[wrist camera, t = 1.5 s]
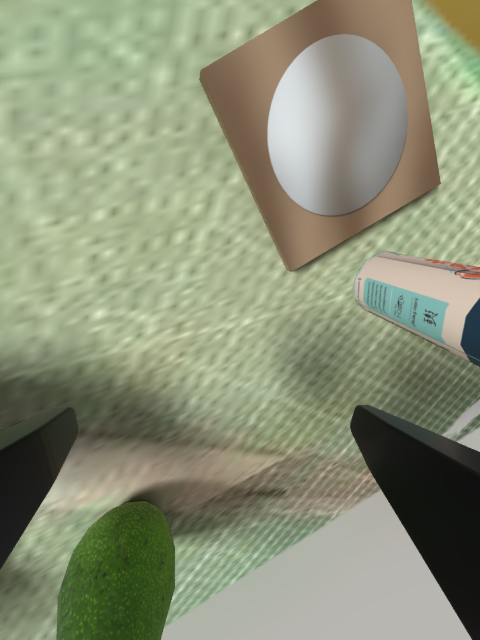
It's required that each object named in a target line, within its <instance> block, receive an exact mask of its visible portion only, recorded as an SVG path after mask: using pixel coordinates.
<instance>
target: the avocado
mask: <svg viewBox="0 0 480 640" xmlns="http://www.w3.org/2000/svg"><path fill="white" fill-rule="evenodd" d="M174 589H175V546H174V542H173V538H172V534H171V530H170V527H169V524H168V521H167V519H166V518H165V516H164V514H163V513H162V512H161V511H160V509H159V508H158V507H157V506H155V505H153V504H150V503H148V502H146V501H137V502H128V503H124V504H122V505H120V506H118V507H116V508H114V509H112V510H110V511H108V512H107V513H106V514H104V515H103V516H102V517H101V518H100V519H99V520H97V521H96V522H95V523H94V524H93V525H92V526H91V527H90V528H89V529H88V530H87V532H86V533H85V535H84V536H83V538H82V539H81V541H80V542H79V544H78V545H77V547H76V548H75V550H74V551H73V554H72V556H71V559H70V561H69V564H68V567H67V571H66V574H65V576H64V579H63V582H62V585H61V589H60V592H59V596H58V610H57V639H56V640H161V636H162V632H163V628H164V625H165V621H166V617H167V614H168V610H169V607H170V603H171V600H172V596H173V592H174Z"/></svg>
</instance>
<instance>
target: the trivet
mask: <svg viewBox="0 0 480 640" xmlns="http://www.w3.org/2000/svg"><path fill="white" fill-rule="evenodd" d="M200 82H201V84H202V86H203V88H204V91H205V93H206V95H207V97H208V99H209V102H210V104H211V106H212V108H213V110H214V112H215V115H216V117H217V119H218V121H219V123H220V126H221V128H222V130H223V132H224V134H225V136H226V139H227V141H228V143H229V145H230V147H231V150H232V152H233V154H234V156H235V158H236V160H237V163H238V165H239V167H240V169H241V171H242V174H243V176H244V178H245V180H246V182H247V184H248V187H249V189H250V191H251V193H252V195H253V198H254V200H255V202H256V204H257V206H258V209H259V211H260V213H261V215H262V217H263V219H264V222H265V224H266V226H267V228H268V230H269V233H270V235H271V237H272V239H273V241H274V243H275V246H276V248H277V250H278V252H279V254H280V257H281V259H282V261H283V263H284V265H285V267H286V269H287V270H289V271H291V272H292V271H294V270H295V269H297V268H299V267H301V266H302V265H304V264H306V263H307V262H309V261H311V260H312V259H314V258H316V257H317V256H319V255H321V254H323V253H324V252H326V251H328V250H329V249H331V248H333V247H334V246H336V245H338V244H339V243H341V242H343V241H345V240H346V239H348V238H350V237H351V236H353V235H355V234H356V233H358V232H360V231H361V230H363V229H365V228H367V227H368V226H370V225H372V224H373V223H375V222H377V221H378V220H380V219H382V218H384V217H385V216H387V215H389V214H390V213H392V212H394V211H395V210H397V209H399V208H400V207H402V206H404V205H406V204H407V203H409V202H411V201H412V200H414V199H416V198H417V197H419V196H421V195H422V194H424V193H426V192H428V191H429V190H431V189H433V188H434V187H436V186H438V185H439V184H441V182H440V176H439V170H438V163H437V157H436V151H435V144H434V138H433V132H432V126H431V119H430V113H429V107H428V100H427V94H426V88H425V82H424V75H423V69H422V63H421V56H420V50H419V44H418V38H417V31H416V25H415V19H414V12H413V6H412V0H317V1H315V2H314V3H312V4H310V5H309V6H307V7H305V8H304V9H302V10H300V11H299V12H297V13H295V14H294V15H292V16H290V17H289V18H287V19H285V20H284V21H282V22H280V23H279V24H277V25H275V26H274V27H272V28H270V29H269V30H267V31H265V32H264V33H262V34H260V35H259V36H257V37H255V38H254V39H252V40H250V41H249V42H247V43H245V44H244V45H242V46H240V47H239V48H237V49H235V50H234V51H232V52H230V53H229V54H227V55H225V56H224V57H222V58H220V59H219V60H217V61H215V62H214V63H212V64H210V65H209V66H207V67H205V68H204V69H202V70H201V72H200Z"/></svg>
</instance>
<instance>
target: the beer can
mask: <svg viewBox="0 0 480 640" xmlns="http://www.w3.org/2000/svg"><path fill="white" fill-rule="evenodd" d="M354 295H355V299H356V301H357V303H358V304H359V305H360V306H361V307H362V308H363V309H364V310H366V311H368V312H371V313H373V314H375V315H377V316H379V317H381V318H383V319H385V320H387V321H389V322H391V323H393V324H395V325H397V326H399V327H401V328H403V329H405V330H407V331H409V332H411V333H413V334H415V335H417V336H419V337H421V338H423V339H425V340H427V341H429V342H431V343H433V344H435V345H437V346H439V347H441V348H443V349H445V350H447V351H449V352H451V353H453V354H455V355H457V356H459V357H461V358H463V359H465V360H467V361H470V362H472V363H474V364H476V365H478V366H480V267H475V266H469V265H463V264H456V263H450V262H444V261H438V260H431V259H425V258H419V257H413V256H406V255H400V254H397V253H394V252H382V253H379V254H376V255H374V256H373V257H371V258H370V259H369V260H367V261H366V262H365V263H364V265H363V266H362V267H361V268H360V270H359V272H358V274H357V276H356V278H355V282H354Z"/></svg>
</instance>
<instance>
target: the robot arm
mask: <svg viewBox="0 0 480 640" xmlns="http://www.w3.org/2000/svg"><path fill="white" fill-rule="evenodd" d="M350 429H351V432H352V435H353V437H354V439H355V441H356V443H357V445H358V447H359V449H360V451H361V453H362V455H363V457H364V460H365V462H366V464H367V466H368V468H369V470H370V471H371V473H372V475H373V477H374V478H375V480H376V482H377V483H378V485H379V487H380V488H381V490H382V492H383V493H384V495H385V497H386V498H387V500H388V502H389V503H390V505H391V506H392V508H393V510H394V511H395V513H396V515H397V516H398V518H399V520H400V521H401V523H402V525H403V526H404V528H405V529H406V531H407V533H408V535H409V536H410V538H411V539H412V541H413V542H414V544H415V546H416V548H417V549H418V551H419V553H420V554H421V556H422V558H423V559H424V561H425V563H426V564H427V566H428V568H429V569H430V571H431V573H432V574H433V576H434V577H435V579H436V581H437V582H438V584H439V586H440V587H441V589H442V591H443V592H444V594H445V596H446V597H447V599H448V601H449V602H450V604H451V605H452V607H453V609H454V610H455V612H456V614H457V615H458V617H459V619H460V620H461V622H462V624H463V625H464V627H465V629H466V630H467V632H468V634H469V635H470V637H471V639H472V640H480V452H478V451H476V450H474V449H471V448H468V447H466V446H464V445H462V444H459V443H457V442H455V441H452V440H450V439H448V438H445V437H443V436H440V435H438V434H436V433H433V432H431V431H429V430H426V429H424V428H422V427H419V426H417V425H415V424H412V423H410V422H407V421H405V420H403V419H400V418H398V417H396V416H393V415H391V414H389V413H386V412H384V411H382V410H379V409H377V408H374V407H372V406H370V405H357V406H356V407H355V410H354V413H353V416H352V420H351V423H350ZM77 434H78V424H77V419H76V414H75V410H74V408H73V407H71V406H59V407H56V408H53V409H51V410H49V411H46V412H44V413H42V414H39V415H37V416H34V417H32V418H30V419H27V420H25V421H23V422H20V423H18V424H16V425H13V426H11V427H9V428H6V429H4V430H2V431H0V569H1V568H2V566H3V565H4V563H5V561H6V560H7V558H8V557H9V555H10V553H11V552H12V550H13V548H14V547H15V545H16V544H17V542H18V540H19V539H20V537H21V536H22V534H23V532H24V531H25V529H26V527H27V526H28V524H29V523H30V521H31V519H32V518H33V516H34V515H35V513H36V511H37V510H38V508H39V506H40V505H41V503H42V502H43V500H44V498H45V497H46V495H47V494H48V492H49V490H50V489H51V487H52V485H53V484H54V482H55V480H56V478H57V476H58V474H59V472H60V470H61V468H62V466H63V464H64V462H65V460H66V458H67V456H68V454H69V451H70V449H71V447H72V445H73V443H74V441H75V439H76V437H77Z"/></svg>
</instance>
